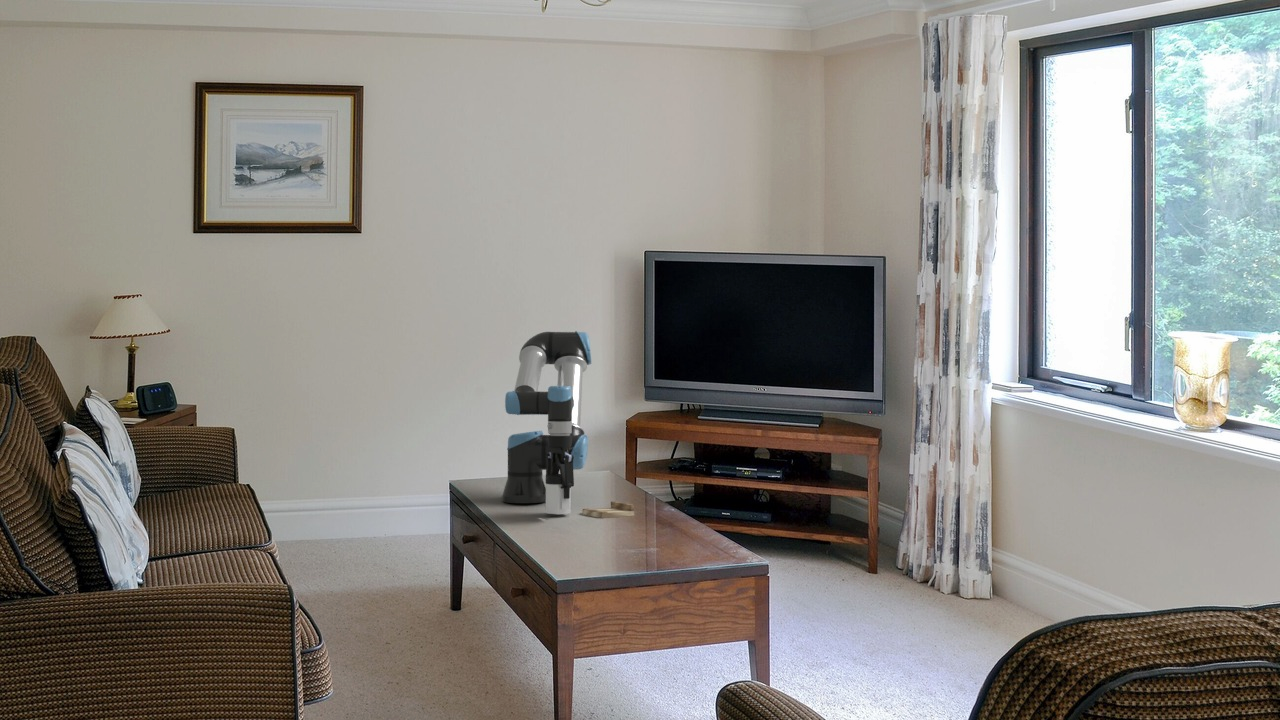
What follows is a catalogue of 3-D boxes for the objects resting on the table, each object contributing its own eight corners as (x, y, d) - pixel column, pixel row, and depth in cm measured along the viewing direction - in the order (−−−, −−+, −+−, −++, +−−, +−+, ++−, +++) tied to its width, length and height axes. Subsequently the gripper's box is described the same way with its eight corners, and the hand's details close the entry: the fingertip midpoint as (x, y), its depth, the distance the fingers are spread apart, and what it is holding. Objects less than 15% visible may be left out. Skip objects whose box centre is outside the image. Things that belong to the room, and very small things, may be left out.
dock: (582, 514, 350) (582, 503, 350) (613, 512, 356) (613, 501, 356) (602, 518, 340) (602, 506, 340) (634, 515, 346) (634, 504, 346)
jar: (552, 515, 339) (552, 477, 339) (539, 512, 346) (539, 474, 346) (576, 513, 344) (577, 475, 344) (564, 510, 351) (564, 473, 351)
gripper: (534, 433, 350) (534, 505, 350) (564, 436, 334) (564, 512, 334) (554, 432, 355) (554, 504, 354) (585, 435, 339) (585, 510, 338)
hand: (559, 507), depth 344 cm, fingers closed on jar, 6 cm apart
